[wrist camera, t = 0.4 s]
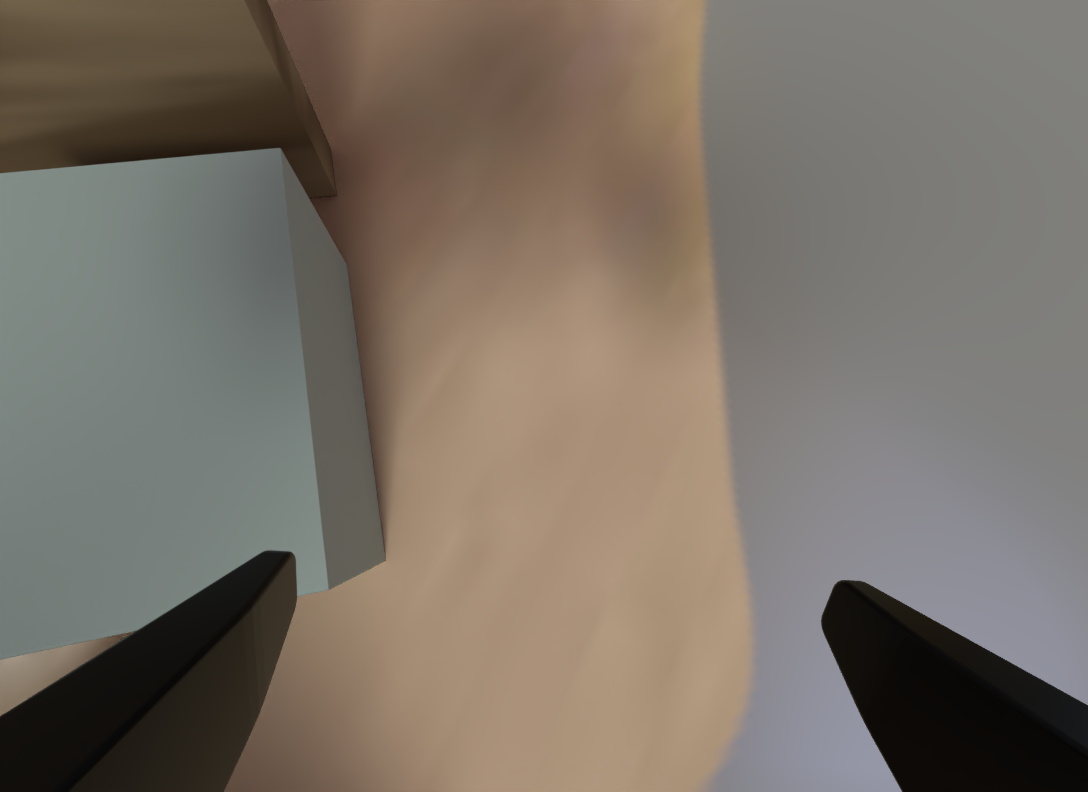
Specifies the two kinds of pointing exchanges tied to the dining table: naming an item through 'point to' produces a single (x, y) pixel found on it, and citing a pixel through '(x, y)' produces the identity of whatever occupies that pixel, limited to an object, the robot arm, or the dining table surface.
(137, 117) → the walnut board
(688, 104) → the dining table surface
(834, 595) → the robot arm
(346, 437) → the grey block
